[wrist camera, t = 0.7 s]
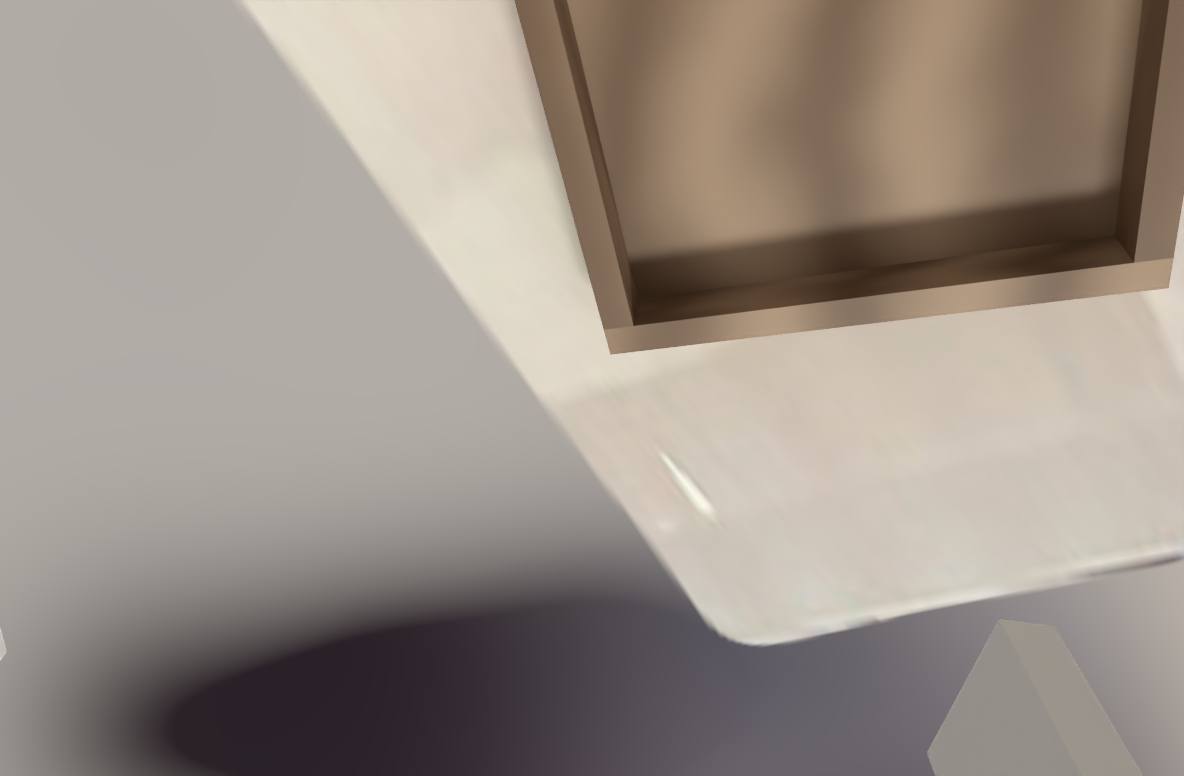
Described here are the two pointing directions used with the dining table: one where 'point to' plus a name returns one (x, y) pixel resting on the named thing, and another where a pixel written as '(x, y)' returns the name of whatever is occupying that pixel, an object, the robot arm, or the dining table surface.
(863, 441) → the dining table surface
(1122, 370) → the dining table surface
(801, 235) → the tray
